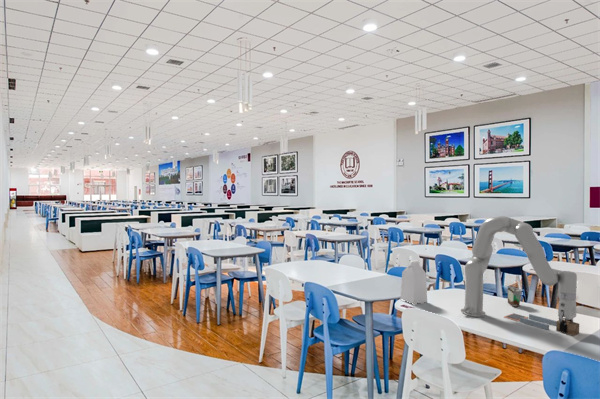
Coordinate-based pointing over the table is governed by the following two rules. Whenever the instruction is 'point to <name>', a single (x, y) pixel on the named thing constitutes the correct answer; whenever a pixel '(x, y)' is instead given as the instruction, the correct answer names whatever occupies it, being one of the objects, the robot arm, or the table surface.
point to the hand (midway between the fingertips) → (566, 330)
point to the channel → (538, 324)
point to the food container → (514, 296)
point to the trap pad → (514, 317)
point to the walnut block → (569, 328)
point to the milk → (414, 284)
